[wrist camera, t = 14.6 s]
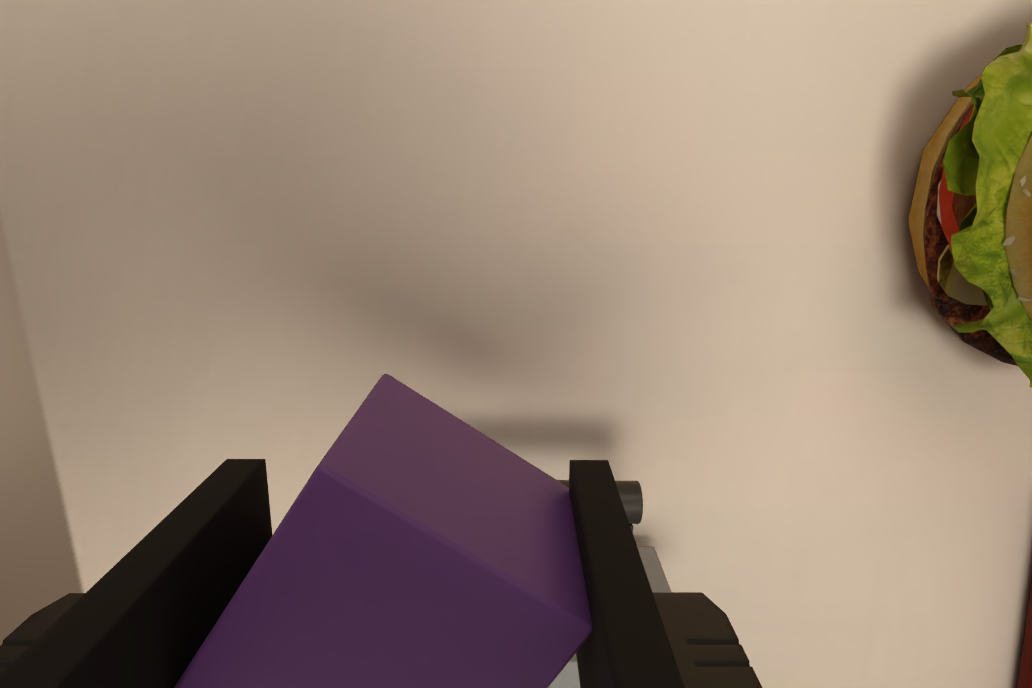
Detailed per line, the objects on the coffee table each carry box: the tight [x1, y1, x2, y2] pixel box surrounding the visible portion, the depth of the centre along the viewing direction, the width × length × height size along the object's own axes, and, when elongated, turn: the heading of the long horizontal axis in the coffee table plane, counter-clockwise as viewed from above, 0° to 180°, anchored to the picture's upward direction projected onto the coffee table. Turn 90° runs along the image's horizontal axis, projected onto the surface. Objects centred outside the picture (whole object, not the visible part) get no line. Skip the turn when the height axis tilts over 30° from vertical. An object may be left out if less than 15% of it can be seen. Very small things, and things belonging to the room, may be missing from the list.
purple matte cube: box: [174, 374, 593, 688], centre depth 11 cm, size 4×4×4 cm
